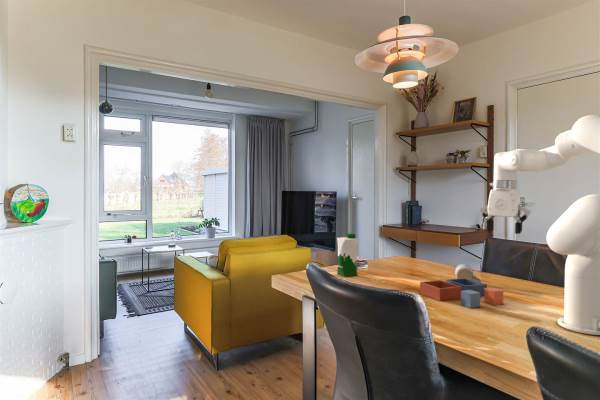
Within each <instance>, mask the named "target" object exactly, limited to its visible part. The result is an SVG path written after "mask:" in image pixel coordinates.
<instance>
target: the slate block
mask: <svg viewBox="0 0 600 400" xmlns="http://www.w3.org/2000/svg"><path fill="white" fill-rule="evenodd" d="M460 305H461V306H463V307H466V308H469V309H474V308H475V309H476V308H480V307H481V296H480V293H479V292H476V291H473V290H464V291H461V298H460Z"/></svg>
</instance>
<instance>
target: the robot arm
mask: <svg viewBox="0 0 600 400" xmlns="http://www.w3.org/2000/svg"><path fill="white" fill-rule="evenodd" d="M592 153H597V154H599V155H600V114H588V115H585V116H582V117H580V118H578V120H576V121H575V122H574V124H573V125H572V127H571V129H569V130H567V131H564V132H561V133H559V134H558V135H557V136H556V138H555V140H554V145H552V146H549V147H546V148H543V149H539V150H538V149H525V148H518V149H513V150H510V151H500V152H497V153H495V154H494V158H493V181H492V182H489V186H490V187H491V188H492V189H490V191H489V196H488V202H487V205H485V206H483V207H481V208H480V209H479V211H480V213H481V215H482V217H483V218H484V220H485V221H486V230H487V232H493V231H494V220H493V219H494V218H495V217H500V218H501V217H502V218H513V219H514V220H515V221H516V222H515V223H514V234H516V235H519V234H521V233H522V231H523V223H524V221H526V220H528V218H529V216H530V215H531V213H532V210H530V209H528V208H526V207H524V206H523V205H522V204H521V203H522V202H521V196H520V191H519V189H518V172H535V173H536V172H537V173H539V172H544V171H547V170H551V169H555V168H557V167H561V166H563V165H565V164H566V163H568V162H570V161H571V160H572V159H575V158H579V157H583V156H586V155H589V154H592ZM522 212H523V215H522V216H521V213H522ZM546 244H547V246H548V248H549V250H551V251H553V252H555V253H556V254H559V255H564V256H567V257H566V260H565V264H564V293H563V295H564V297H563V298H564V299H563V301H564V302H563V317H559V318H557V324H558V325H559V327H562V328H564V329H567V330H569V331H572V332H576V333H581V334H585V335H592V336H600V193H593V194H587V195H585V196H582V197H580V198H579V199H577V200H576V201H574V202H573V203H572V204H570V206H569V207H568V208H567V209H565V211H564V212H563V213H562V214H561V215H560V216H559V217H558V218H557V219H556V220H555V221H554V223H552V224H551V226H550V227H549V229H548V230H547V233H546Z"/></svg>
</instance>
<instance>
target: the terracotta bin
mask: <svg viewBox="0 0 600 400" xmlns="http://www.w3.org/2000/svg"><path fill="white" fill-rule="evenodd" d="M419 294H421V295H424V296H425V297H426V296H427V297H429V298H430V299H431V298H432V299H434V300H436V301H439V302H441V301H450V300H451V301H452V300H461V286H457V285H454V284H451V283H448V282H446V280H445V281H444V280H441V279H439V280H427V281H420V282H419Z"/></svg>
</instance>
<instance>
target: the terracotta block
mask: <svg viewBox="0 0 600 400" xmlns="http://www.w3.org/2000/svg"><path fill="white" fill-rule="evenodd" d="M483 302H484V303H487V304H490V305H493V306H497V305H498V306H499V305H504V289H500V288H496V287H487V288H484V296H483Z"/></svg>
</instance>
